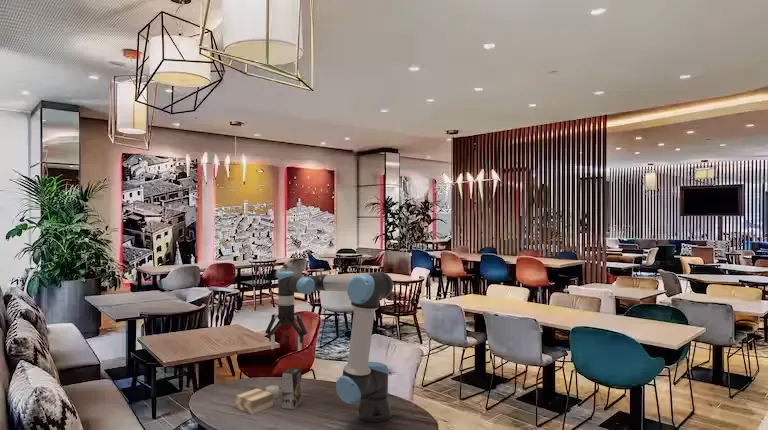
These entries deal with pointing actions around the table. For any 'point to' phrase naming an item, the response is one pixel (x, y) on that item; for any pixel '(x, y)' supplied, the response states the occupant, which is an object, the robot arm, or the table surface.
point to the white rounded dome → (273, 390)
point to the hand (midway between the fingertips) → (286, 349)
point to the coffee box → (291, 388)
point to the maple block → (254, 400)
